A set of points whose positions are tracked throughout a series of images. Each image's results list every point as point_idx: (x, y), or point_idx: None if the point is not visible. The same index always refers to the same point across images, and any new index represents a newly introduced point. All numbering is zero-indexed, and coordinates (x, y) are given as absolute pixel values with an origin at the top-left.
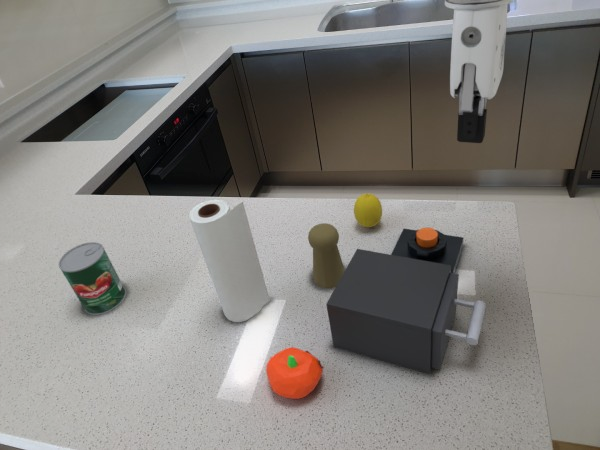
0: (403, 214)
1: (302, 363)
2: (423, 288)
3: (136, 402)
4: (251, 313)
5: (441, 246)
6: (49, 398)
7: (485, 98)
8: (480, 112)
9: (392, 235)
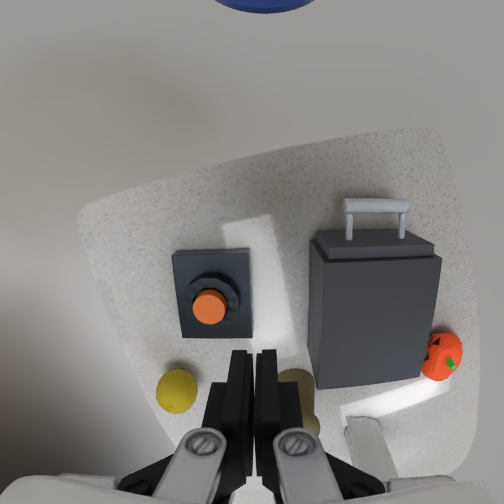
0: (139, 341)
1: (448, 355)
2: (380, 286)
3: (452, 427)
4: (370, 421)
5: (219, 282)
6: (447, 462)
7: (216, 468)
8: (318, 447)
9: (187, 344)
